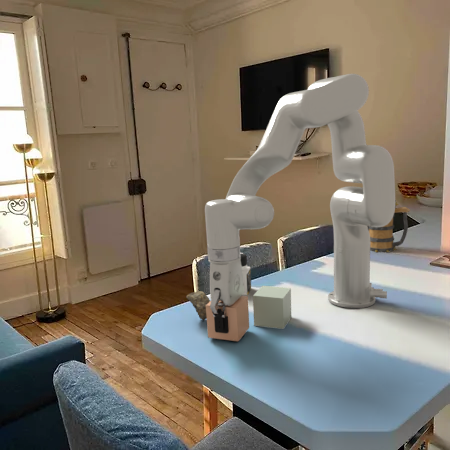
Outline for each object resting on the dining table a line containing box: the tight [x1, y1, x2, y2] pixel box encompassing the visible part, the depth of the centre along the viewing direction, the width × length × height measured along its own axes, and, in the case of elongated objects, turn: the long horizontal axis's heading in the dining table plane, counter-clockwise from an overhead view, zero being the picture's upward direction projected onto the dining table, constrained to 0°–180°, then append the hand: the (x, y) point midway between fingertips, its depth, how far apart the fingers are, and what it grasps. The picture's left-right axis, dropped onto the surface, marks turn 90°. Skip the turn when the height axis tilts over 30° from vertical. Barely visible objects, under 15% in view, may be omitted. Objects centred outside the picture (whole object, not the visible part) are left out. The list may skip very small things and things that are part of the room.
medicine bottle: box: [240, 252, 252, 296], centre depth 135 cm, size 7×7×12 cm
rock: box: [186, 290, 211, 321], centre depth 114 cm, size 7×8×4 cm
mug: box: [367, 199, 411, 253], centre depth 172 cm, size 13×17×20 cm
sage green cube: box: [252, 285, 292, 330], centre depth 112 cm, size 8×8×8 cm
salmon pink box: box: [206, 295, 250, 342], centre depth 105 cm, size 8×8×8 cm
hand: (228, 324), depth 105 cm, fingers closed on salmon pink box, 7 cm apart
